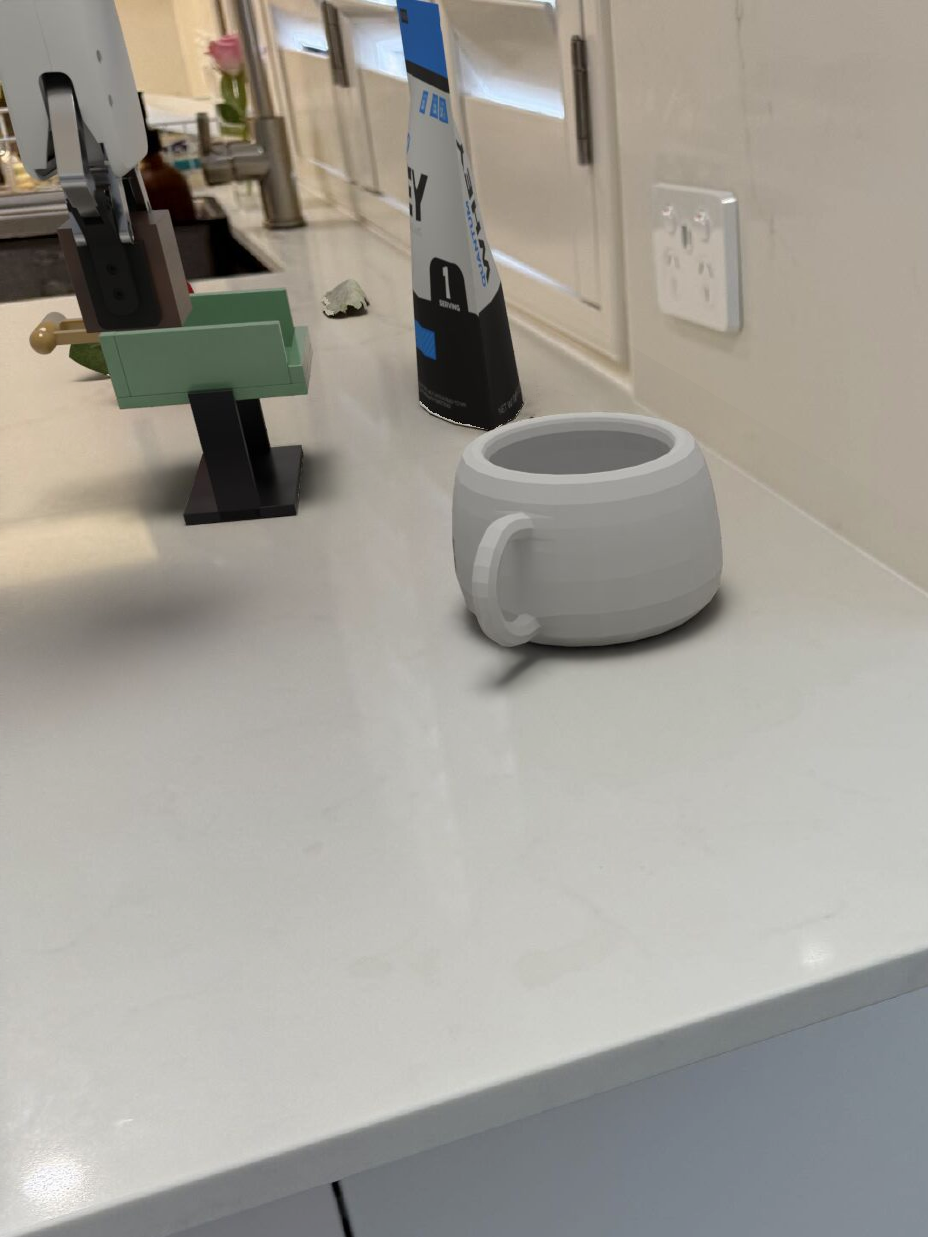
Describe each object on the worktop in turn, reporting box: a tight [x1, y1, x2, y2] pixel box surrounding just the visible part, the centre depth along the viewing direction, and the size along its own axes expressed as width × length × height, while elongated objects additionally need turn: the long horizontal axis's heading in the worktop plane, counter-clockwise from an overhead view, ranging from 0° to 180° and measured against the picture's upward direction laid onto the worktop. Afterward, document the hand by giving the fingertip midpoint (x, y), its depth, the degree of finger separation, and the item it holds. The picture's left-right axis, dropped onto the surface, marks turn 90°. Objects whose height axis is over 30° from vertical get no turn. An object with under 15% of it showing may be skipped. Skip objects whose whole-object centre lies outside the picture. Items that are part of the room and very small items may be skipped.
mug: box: [451, 411, 724, 648], centre depth 81 cm, size 21×17×10 cm
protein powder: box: [395, 0, 524, 431], centre depth 116 cm, size 10×24×30 cm, turn 19°
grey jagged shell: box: [322, 278, 370, 315], centre depth 158 cm, size 12×5×4 cm
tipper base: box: [182, 388, 304, 526], centre depth 103 cm, size 8×16×9 cm, turn 13°
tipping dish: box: [28, 286, 314, 410], centre depth 99 cm, size 18×13×5 cm
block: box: [56, 209, 193, 333], centre depth 74 cm, size 5×5×5 cm
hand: (138, 312), depth 75 cm, fingers closed on block, 5 cm apart
